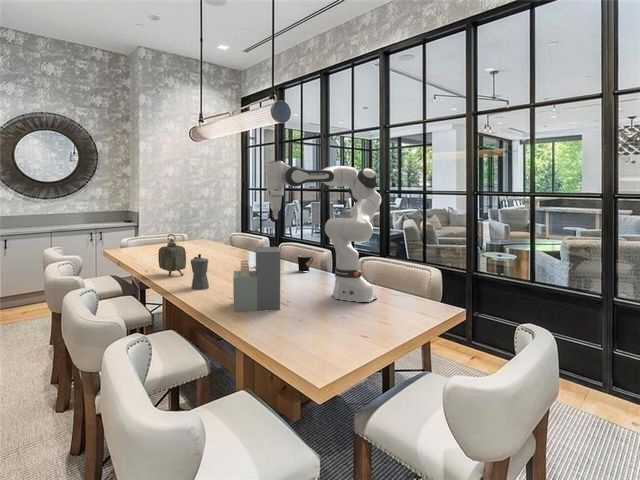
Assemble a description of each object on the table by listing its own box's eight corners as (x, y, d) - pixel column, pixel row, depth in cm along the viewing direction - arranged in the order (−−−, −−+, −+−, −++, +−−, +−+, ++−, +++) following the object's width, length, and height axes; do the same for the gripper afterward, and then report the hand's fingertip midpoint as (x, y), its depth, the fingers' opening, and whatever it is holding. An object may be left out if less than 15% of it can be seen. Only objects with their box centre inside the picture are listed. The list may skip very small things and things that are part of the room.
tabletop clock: (186, 276, 238) (185, 234, 234) (173, 278, 230) (172, 235, 227) (170, 272, 245) (169, 232, 242) (157, 275, 238) (156, 233, 234)
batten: (240, 267, 192) (240, 260, 192) (248, 267, 193) (248, 260, 192) (240, 276, 173) (240, 268, 172) (249, 276, 173) (249, 268, 173)
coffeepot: (213, 289, 209) (212, 255, 206) (194, 291, 203) (194, 256, 201) (203, 283, 221) (203, 251, 219) (186, 285, 216) (185, 252, 214)
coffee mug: (299, 273, 251) (299, 257, 250) (295, 270, 259) (295, 255, 258) (316, 272, 255) (317, 256, 254) (312, 269, 263) (312, 254, 262)
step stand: (234, 302, 186) (233, 247, 182) (277, 300, 190) (277, 246, 186) (233, 311, 172) (233, 252, 169) (280, 309, 176) (280, 251, 173)
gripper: (267, 191, 219) (267, 216, 221) (270, 192, 199) (270, 220, 201) (279, 191, 220) (279, 216, 222) (283, 192, 200) (283, 220, 202)
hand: (275, 218), depth 211 cm, fingers open, 8 cm apart
